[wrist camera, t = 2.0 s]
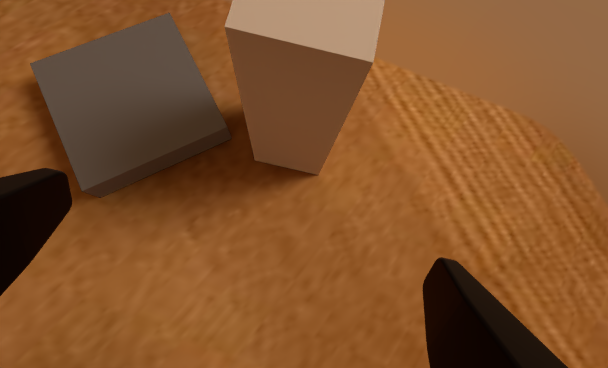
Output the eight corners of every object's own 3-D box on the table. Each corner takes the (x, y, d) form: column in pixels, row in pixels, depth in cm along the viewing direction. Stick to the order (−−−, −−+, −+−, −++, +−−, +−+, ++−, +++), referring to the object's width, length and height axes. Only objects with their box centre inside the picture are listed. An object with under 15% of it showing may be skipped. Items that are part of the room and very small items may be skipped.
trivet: (100, 197, 21) (81, 191, 19) (51, 80, 22) (29, 63, 20) (231, 138, 22) (227, 126, 20) (178, 33, 24) (169, 12, 22)
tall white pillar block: (318, 175, 22) (373, 62, 10) (254, 160, 22) (224, 26, 9) (330, 116, 23) (394, -56, 11) (270, 102, 23) (261, -89, 10)
